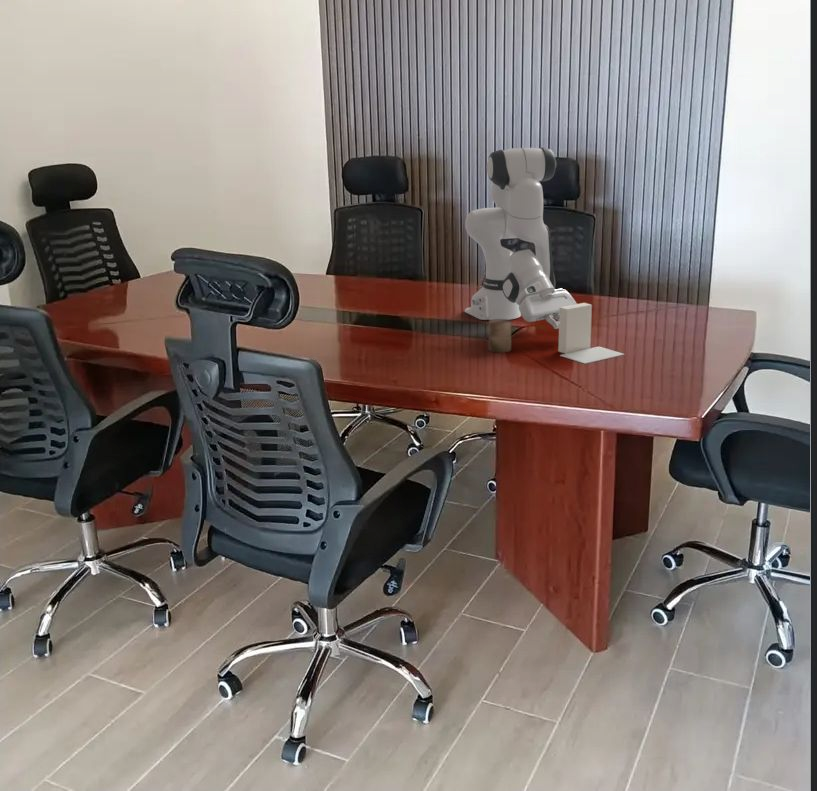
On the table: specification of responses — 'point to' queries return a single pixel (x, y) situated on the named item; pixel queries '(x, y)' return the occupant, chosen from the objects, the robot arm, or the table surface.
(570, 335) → the card box
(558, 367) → the table surface
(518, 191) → the robot arm
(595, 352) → the felt mat
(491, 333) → the tan cardboard tube
